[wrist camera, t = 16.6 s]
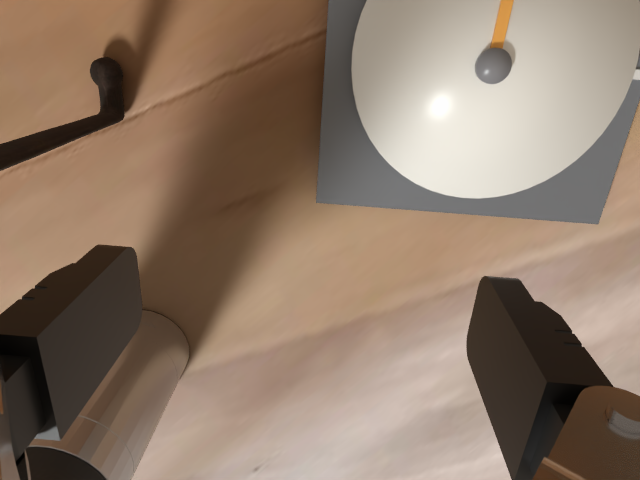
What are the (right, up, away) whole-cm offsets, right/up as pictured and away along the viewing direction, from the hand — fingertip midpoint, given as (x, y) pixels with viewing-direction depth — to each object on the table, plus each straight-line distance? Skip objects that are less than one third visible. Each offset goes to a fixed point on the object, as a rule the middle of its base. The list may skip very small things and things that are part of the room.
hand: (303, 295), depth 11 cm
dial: (+13, +14, +24) cm, 31 cm away
